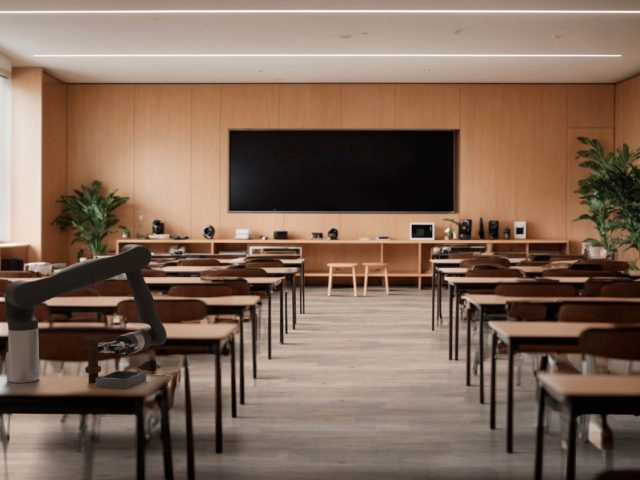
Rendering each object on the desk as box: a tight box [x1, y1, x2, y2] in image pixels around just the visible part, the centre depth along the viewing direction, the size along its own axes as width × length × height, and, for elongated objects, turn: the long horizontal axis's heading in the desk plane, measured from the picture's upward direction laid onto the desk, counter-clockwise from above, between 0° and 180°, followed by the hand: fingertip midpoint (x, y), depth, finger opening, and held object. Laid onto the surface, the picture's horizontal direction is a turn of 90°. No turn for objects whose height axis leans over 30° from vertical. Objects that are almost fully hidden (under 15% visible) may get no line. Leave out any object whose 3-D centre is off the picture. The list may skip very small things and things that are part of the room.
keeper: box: [95, 370, 147, 390], centre depth 228 cm, size 11×11×3 cm
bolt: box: [82, 335, 103, 384], centre depth 230 cm, size 6×5×15 cm
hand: (104, 351), depth 237 cm, fingers open, 8 cm apart
